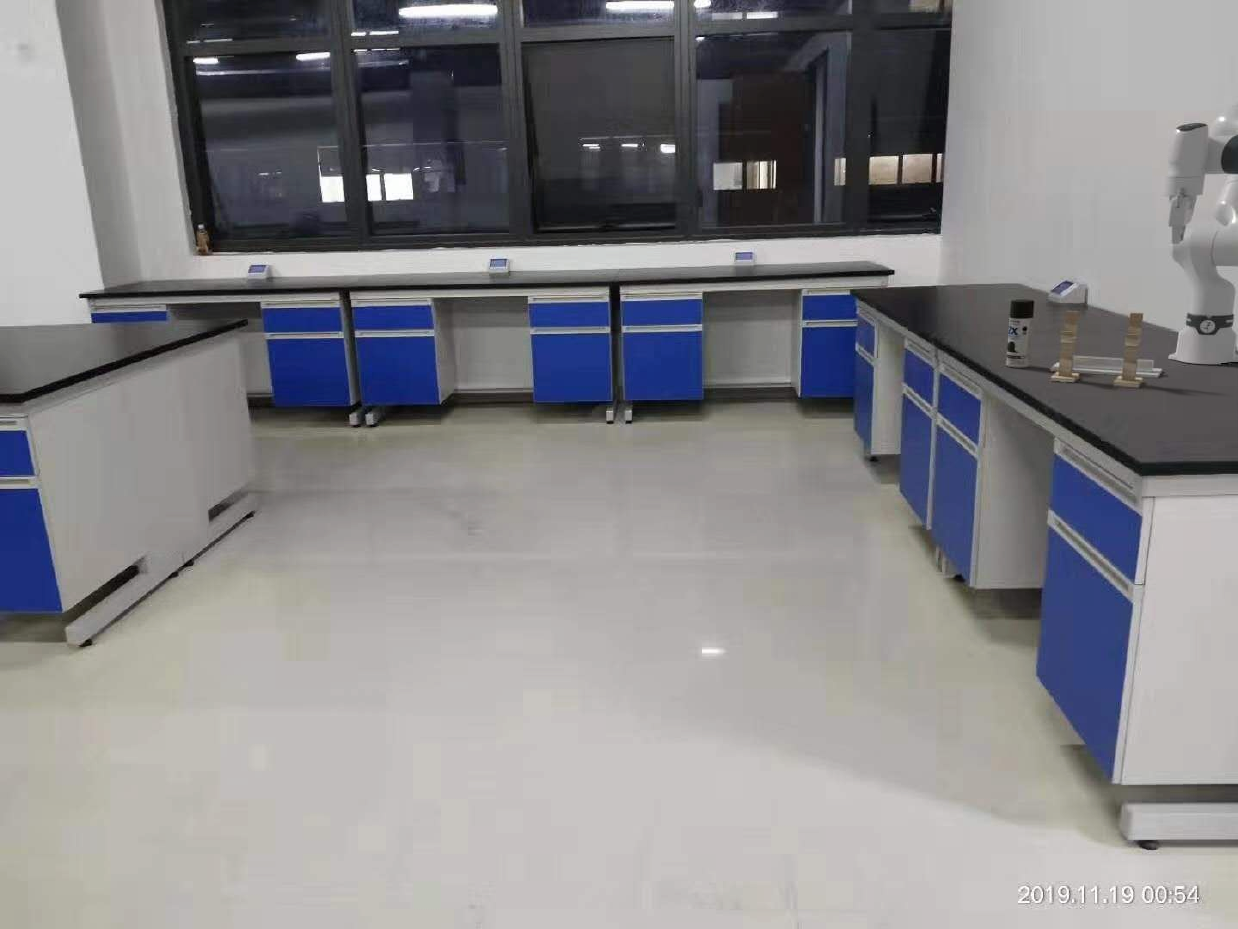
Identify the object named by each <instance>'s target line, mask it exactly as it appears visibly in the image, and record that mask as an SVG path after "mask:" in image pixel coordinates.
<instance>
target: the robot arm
mask: <svg viewBox="0 0 1238 929" xmlns="http://www.w3.org/2000/svg"><path fill="white" fill-rule="evenodd" d="M1209 130H1210V135H1209ZM1167 158H1168V159H1167V163H1168V170H1167V173H1166V176H1165V183H1164V184H1165V185H1164V191H1163V196H1164V197H1168V203H1170V208H1169V214H1168V215H1169V216H1168V222H1167V223H1168V227H1170V228H1171V240H1170V244H1169V252H1170V253H1169V254H1170V256H1171V258H1172V260H1173V261H1174V262H1175V263H1177V264H1178V265H1179V266H1180V267H1181V268H1182V270H1183V271H1184V273H1186V274H1185V275H1187V278H1188V282H1189V285H1190V296H1189V297H1190V298H1189V310H1188V312H1187V313H1186V317H1185V325H1186V326H1185V327H1184V328H1183V329H1181V331H1178V336H1177V344H1176V350H1175V352H1174V353H1171V354H1169V355H1168V360H1174V361H1180V362H1183V363H1188V364H1189V363H1190V364H1198V365H1222V364H1221V363H1227V362H1238V354H1237V353H1236V350H1237V348H1238V347H1237V338H1238V334H1237V333H1236V331H1234V329H1233V326H1234V320H1235V314H1234V306H1235V298H1236V288H1235V285H1234V284H1233V283H1232V282H1231V281H1229V280H1228V279H1226V278H1224V277H1222V276H1221V274H1219V273H1218V269H1217V267H1238V102H1236V103H1235V104H1232V105H1231V106H1229V107H1228V108H1226V109H1225V110H1223V111H1222V112H1221V113H1220V114H1218V115H1217V116H1216V117H1215V119H1214V120H1213V122H1212V124H1211V126H1210V129H1209V125H1208V124H1207V123H1203V122H1193V123H1188V124H1182V125H1179V126H1177V127H1176V128H1175V129H1174V131H1173V133H1172V138H1171V142H1170V146H1169V150H1168V157H1167ZM1226 174H1227V178H1226V179H1225V181H1224V183H1223V186H1222V187H1221V190H1220V192H1219V194H1218V196H1217V199H1216V201H1215V204H1214V206H1213V207H1212V208H1213V209H1212V210H1213V212H1212V213H1213V217H1214V218H1215V219H1216V221H1217V222H1218V223H1219V224H1221V225H1223V226H1217V227H1215V226H1206V227H1205V226H1201V227H1200V226H1197V227H1190V228H1187V225H1188V224H1190V222H1191V221H1192V219H1193V214H1194V211H1195V207H1196V203H1197V198H1198V196H1203V194H1204V186H1205V185H1204V184H1205V178H1206V175H1226Z"/></svg>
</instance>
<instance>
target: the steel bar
mask: <svg viewBox="0 0 1238 929" xmlns="http://www.w3.org/2000/svg"><path fill="white" fill-rule="evenodd" d="M1123 362H1124V357H1123V358H1122V357H1109V356H1108V357H1105V356H1089V355H1088V356H1087V355H1074V358H1073V367H1074V368H1090V369H1106V370H1122V371H1123ZM1154 363H1155V360H1154V359H1143V358H1142V359H1141V358H1138V360H1137V369H1136V371H1138V372H1152V371H1153V368H1154V365H1155V364H1154Z"/></svg>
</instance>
